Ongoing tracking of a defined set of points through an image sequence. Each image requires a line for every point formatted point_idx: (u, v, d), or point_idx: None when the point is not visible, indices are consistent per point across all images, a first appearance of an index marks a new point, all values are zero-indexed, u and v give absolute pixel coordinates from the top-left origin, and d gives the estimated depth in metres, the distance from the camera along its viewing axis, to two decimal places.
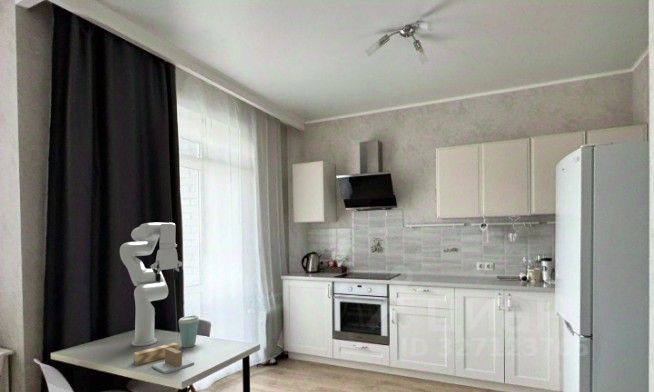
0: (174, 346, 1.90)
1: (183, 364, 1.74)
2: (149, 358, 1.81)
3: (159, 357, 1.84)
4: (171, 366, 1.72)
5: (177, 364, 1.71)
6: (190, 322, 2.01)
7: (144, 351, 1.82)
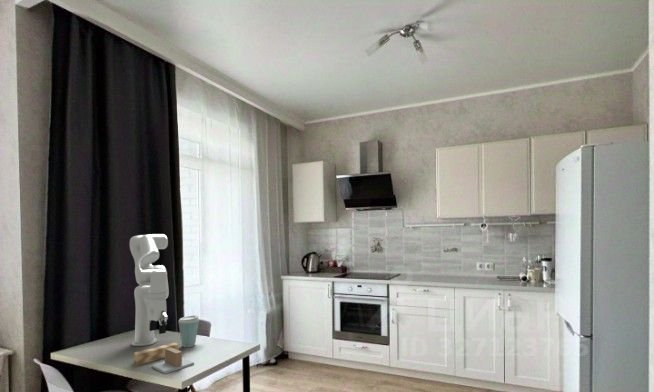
0: (174, 346, 1.90)
1: (183, 364, 1.74)
2: (149, 358, 1.81)
3: (159, 357, 1.84)
4: (171, 366, 1.72)
5: (177, 364, 1.71)
6: (190, 322, 2.01)
7: (144, 351, 1.81)
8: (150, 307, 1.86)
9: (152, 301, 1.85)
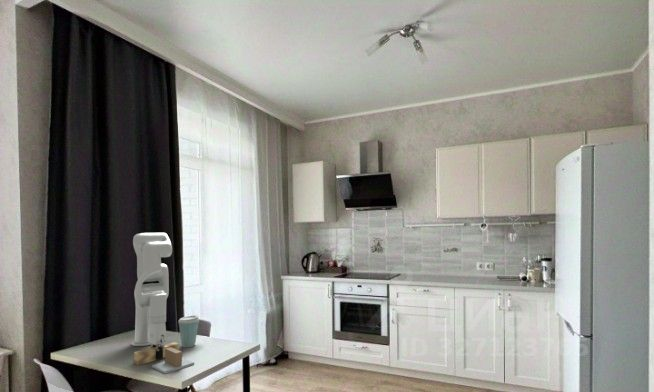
0: (175, 346, 1.90)
1: (183, 364, 1.74)
2: (149, 358, 1.80)
3: None
4: (171, 366, 1.72)
5: (177, 364, 1.71)
6: (190, 322, 2.01)
7: (145, 350, 1.81)
8: (149, 330, 1.85)
9: (151, 325, 1.84)
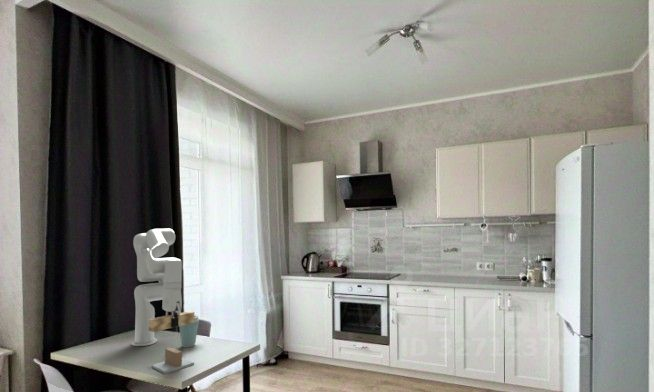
0: (190, 314, 1.82)
1: (183, 364, 1.74)
2: (164, 325, 1.73)
3: None
4: (171, 366, 1.72)
5: (177, 364, 1.71)
6: None
7: (160, 317, 1.73)
8: (164, 297, 1.77)
9: (167, 291, 1.76)
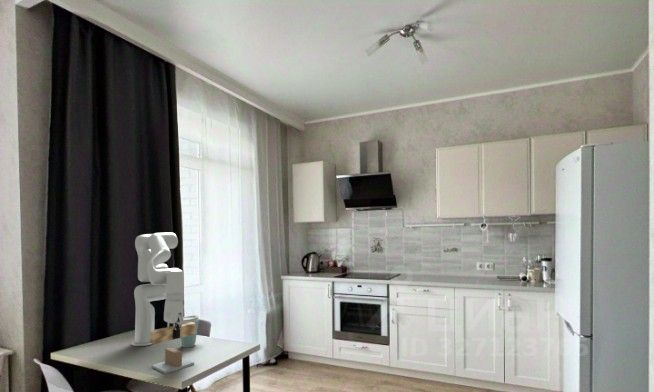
0: (192, 325, 1.81)
1: (183, 364, 1.74)
2: (166, 337, 1.71)
3: None
4: (171, 366, 1.72)
5: (177, 364, 1.71)
6: None
7: (161, 329, 1.72)
8: (166, 309, 1.76)
9: (168, 302, 1.75)
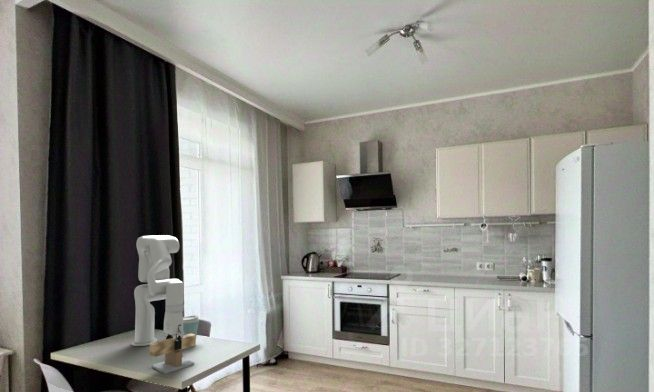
0: (192, 337, 1.81)
1: (183, 364, 1.74)
2: (166, 349, 1.71)
3: None
4: (171, 366, 1.72)
5: (177, 364, 1.71)
6: (190, 322, 2.01)
7: (161, 341, 1.72)
8: (166, 320, 1.76)
9: (168, 314, 1.75)
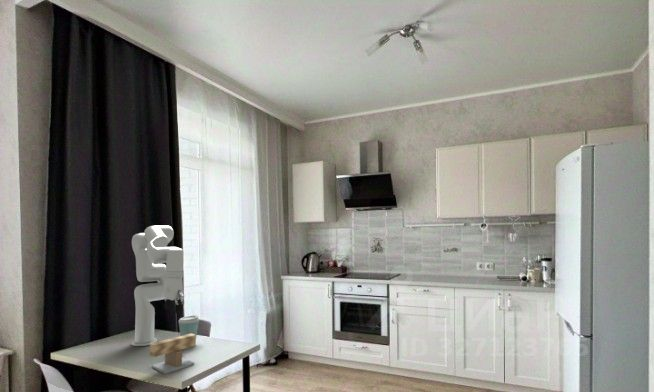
0: (192, 337, 1.81)
1: (183, 364, 1.74)
2: (166, 349, 1.71)
3: (176, 348, 1.75)
4: (171, 366, 1.72)
5: (177, 364, 1.71)
6: (190, 322, 2.01)
7: (161, 341, 1.72)
8: (166, 286, 1.81)
9: (168, 280, 1.80)
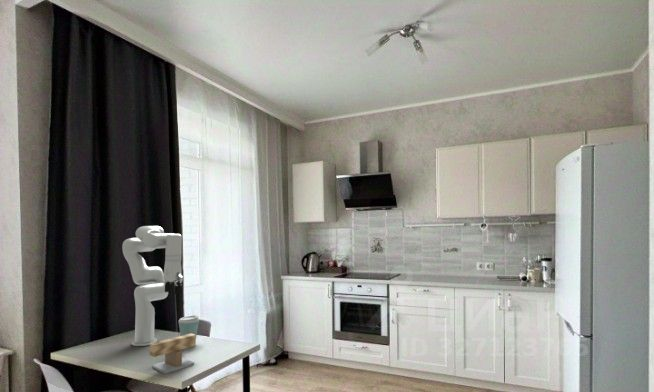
0: (192, 337, 1.81)
1: (183, 364, 1.74)
2: (166, 349, 1.71)
3: (176, 348, 1.75)
4: (171, 366, 1.72)
5: (177, 364, 1.71)
6: (190, 322, 2.01)
7: (161, 341, 1.72)
8: (166, 269, 1.92)
9: (168, 263, 1.91)
